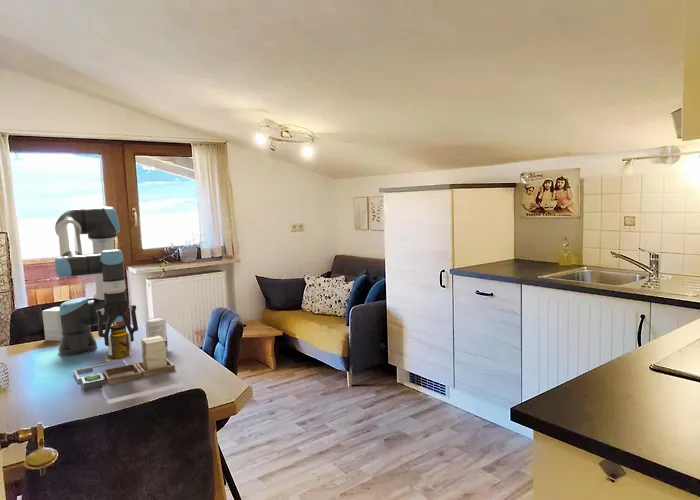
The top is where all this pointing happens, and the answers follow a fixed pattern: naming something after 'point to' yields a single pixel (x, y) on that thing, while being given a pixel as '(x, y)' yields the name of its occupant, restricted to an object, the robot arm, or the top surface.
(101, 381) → the button housing
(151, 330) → the supplement can
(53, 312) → the supplement box
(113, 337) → the condiment
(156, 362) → the block
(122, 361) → the frame
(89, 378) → the button
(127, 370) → the brown divided tray
